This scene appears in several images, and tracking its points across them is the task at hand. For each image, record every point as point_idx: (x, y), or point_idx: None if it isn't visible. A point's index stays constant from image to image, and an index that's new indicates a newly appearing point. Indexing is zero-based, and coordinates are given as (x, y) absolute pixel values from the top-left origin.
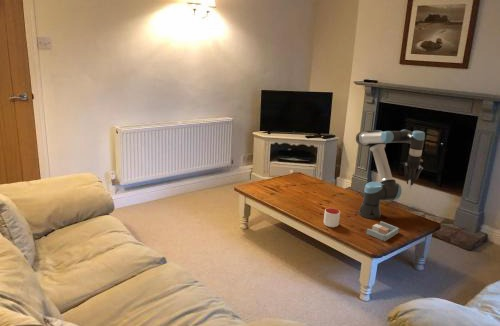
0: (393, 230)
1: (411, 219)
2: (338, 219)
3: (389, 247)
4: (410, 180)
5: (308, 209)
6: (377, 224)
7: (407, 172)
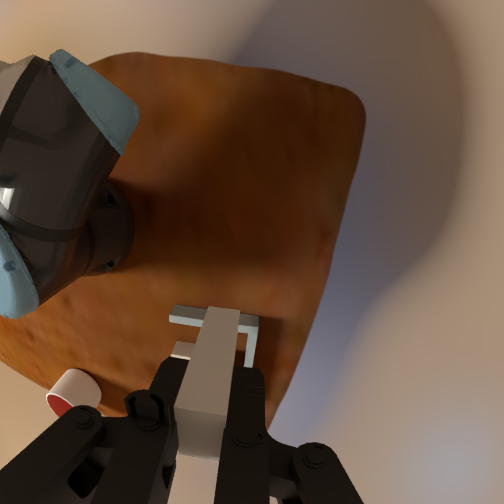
0: (248, 361)
1: (255, 125)
2: (92, 404)
3: (271, 415)
4: (212, 455)
5: (6, 327)
6: (178, 357)
7: (48, 500)
